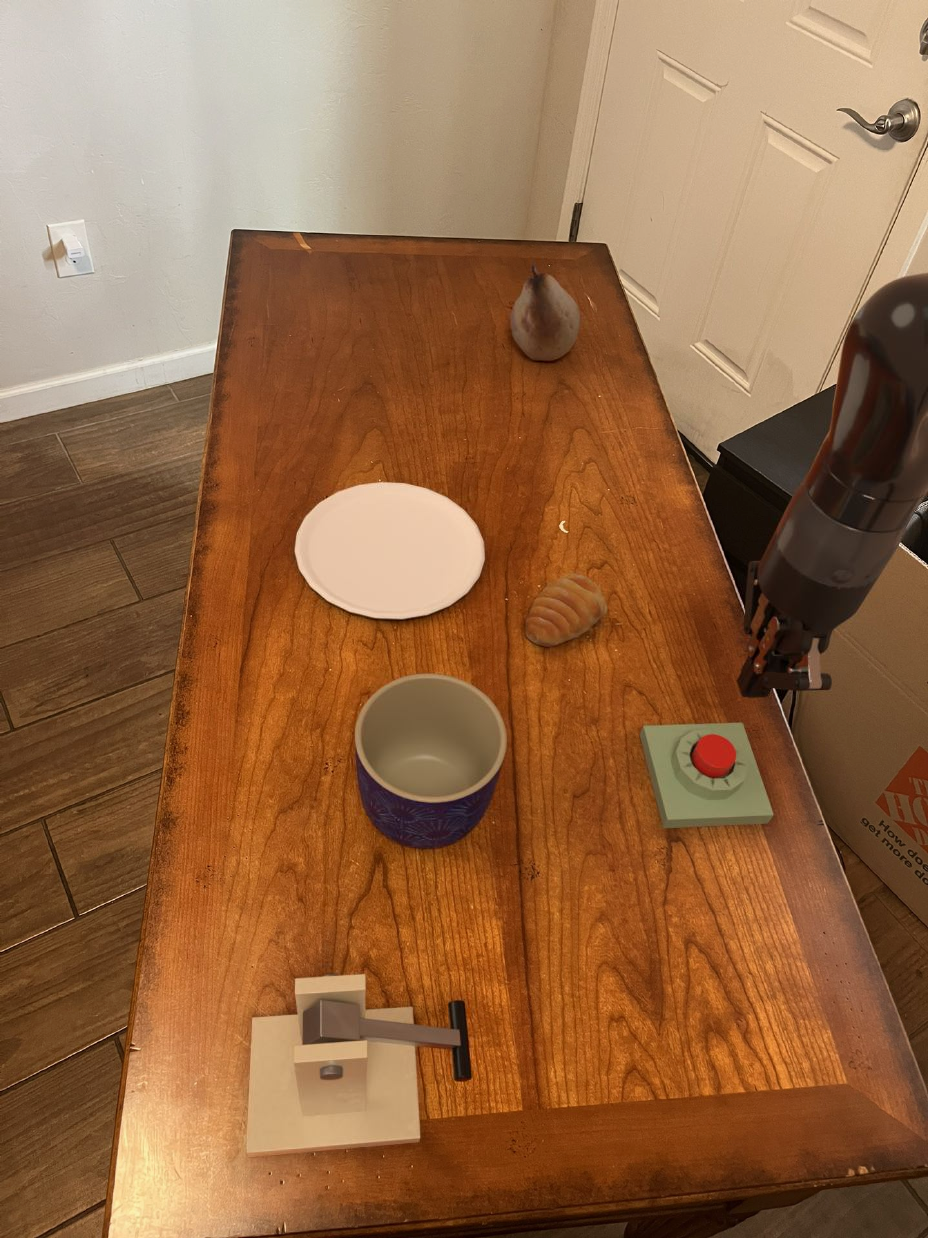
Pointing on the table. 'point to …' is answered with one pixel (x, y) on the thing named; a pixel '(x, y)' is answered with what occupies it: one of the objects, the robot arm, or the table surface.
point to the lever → (389, 1031)
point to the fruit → (544, 318)
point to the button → (714, 755)
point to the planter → (428, 758)
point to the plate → (389, 551)
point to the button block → (703, 778)
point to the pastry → (565, 610)
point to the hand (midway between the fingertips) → (750, 689)
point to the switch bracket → (329, 1080)
